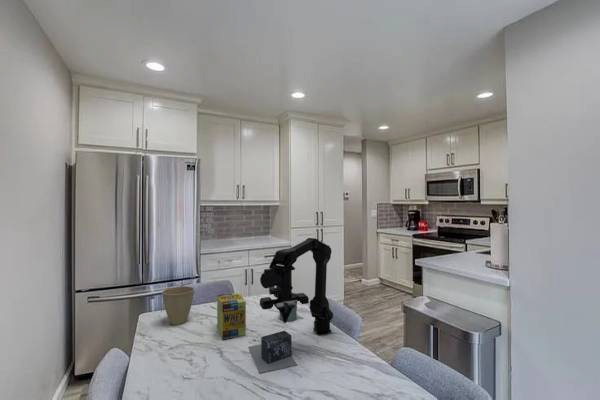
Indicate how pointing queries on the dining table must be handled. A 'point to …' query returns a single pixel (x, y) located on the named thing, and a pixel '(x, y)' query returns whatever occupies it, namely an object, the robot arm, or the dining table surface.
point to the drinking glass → (293, 313)
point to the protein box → (231, 315)
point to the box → (276, 346)
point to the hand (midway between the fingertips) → (284, 322)
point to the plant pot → (178, 303)
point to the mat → (273, 366)
